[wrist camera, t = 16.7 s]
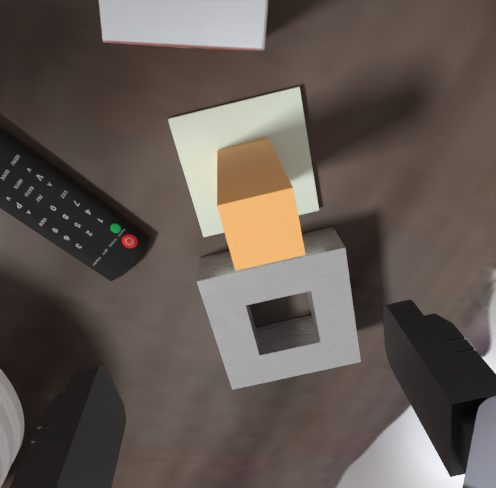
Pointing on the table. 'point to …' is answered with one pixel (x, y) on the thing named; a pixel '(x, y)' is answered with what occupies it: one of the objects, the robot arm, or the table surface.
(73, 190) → the remote control
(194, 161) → the mat
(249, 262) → the key peg
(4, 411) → the plate stack
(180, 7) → the small box
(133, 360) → the table surface
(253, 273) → the socket block
